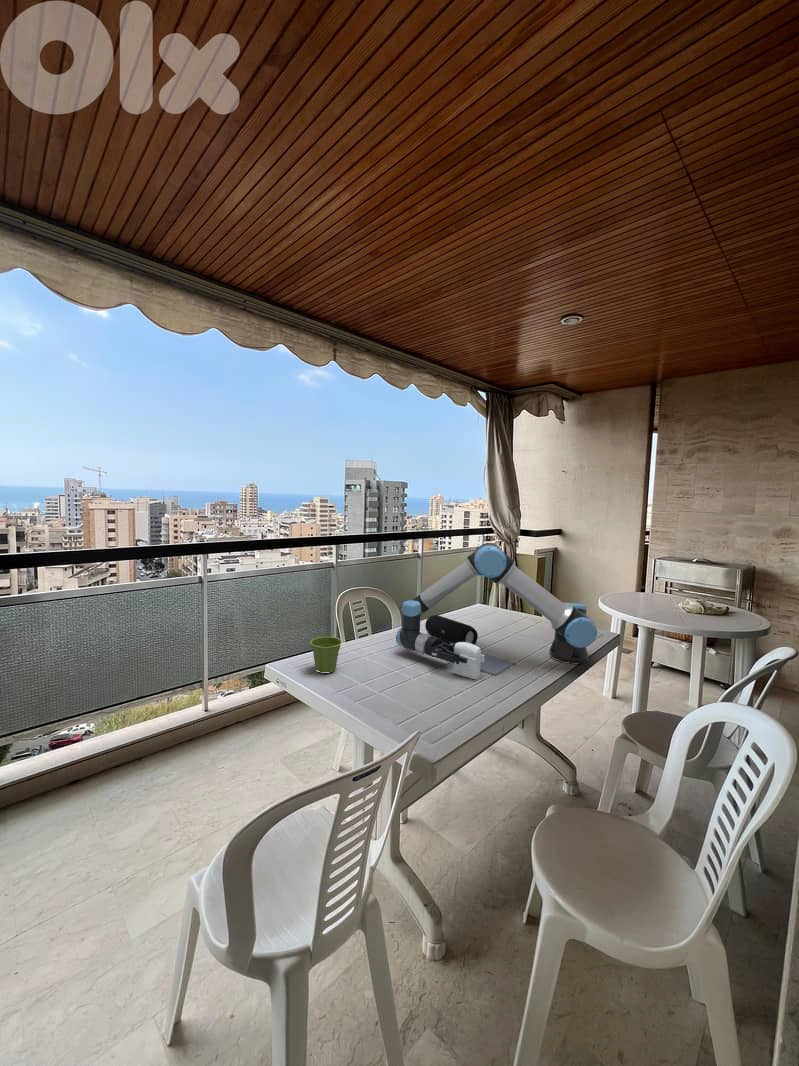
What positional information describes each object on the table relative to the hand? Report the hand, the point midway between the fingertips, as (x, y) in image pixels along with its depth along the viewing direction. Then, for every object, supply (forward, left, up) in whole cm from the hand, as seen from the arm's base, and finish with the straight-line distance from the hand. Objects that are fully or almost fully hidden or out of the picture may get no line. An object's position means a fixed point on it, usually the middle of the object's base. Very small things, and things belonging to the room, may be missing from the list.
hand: (479, 660), depth 158 cm
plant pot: (+45, +34, -7) cm, 57 cm away
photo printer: (+5, 0, -7) cm, 9 cm away
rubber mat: (+5, -15, -7) cm, 17 cm away
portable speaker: (+32, -27, -7) cm, 43 cm away
